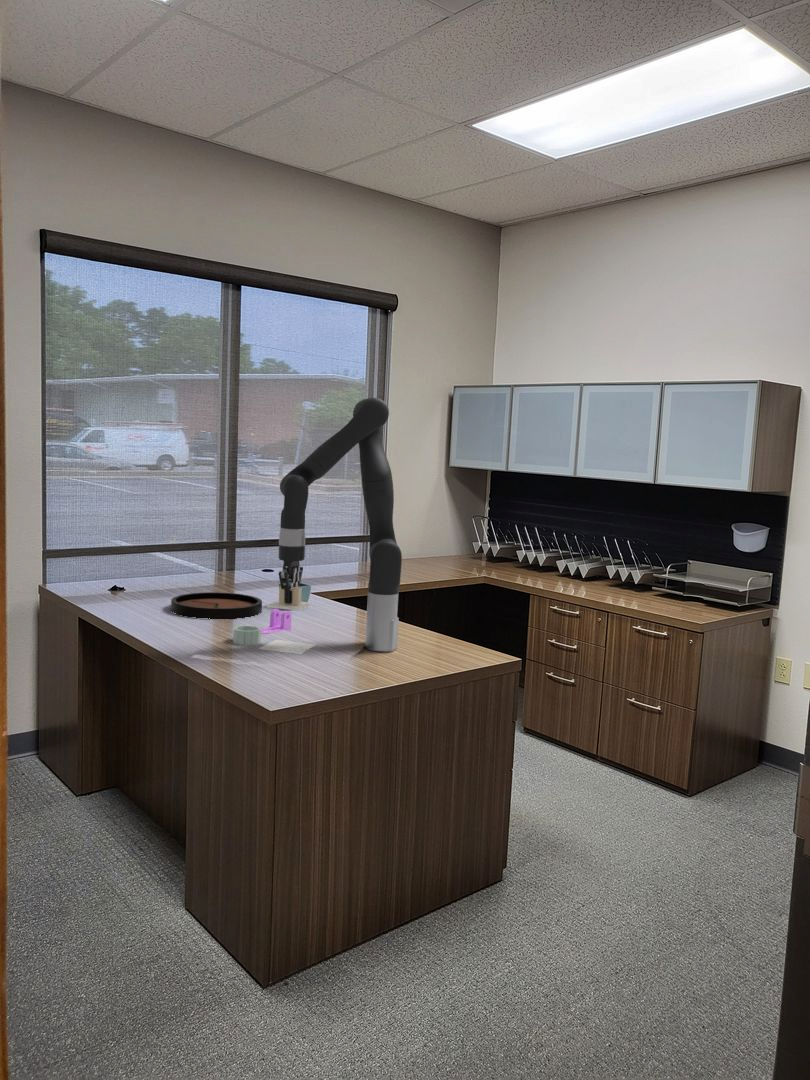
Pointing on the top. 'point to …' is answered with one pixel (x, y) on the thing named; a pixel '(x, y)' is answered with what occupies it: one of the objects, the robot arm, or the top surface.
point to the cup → (247, 635)
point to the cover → (296, 600)
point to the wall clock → (216, 605)
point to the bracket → (278, 622)
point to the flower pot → (304, 592)
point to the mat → (287, 646)
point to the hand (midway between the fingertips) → (290, 602)
